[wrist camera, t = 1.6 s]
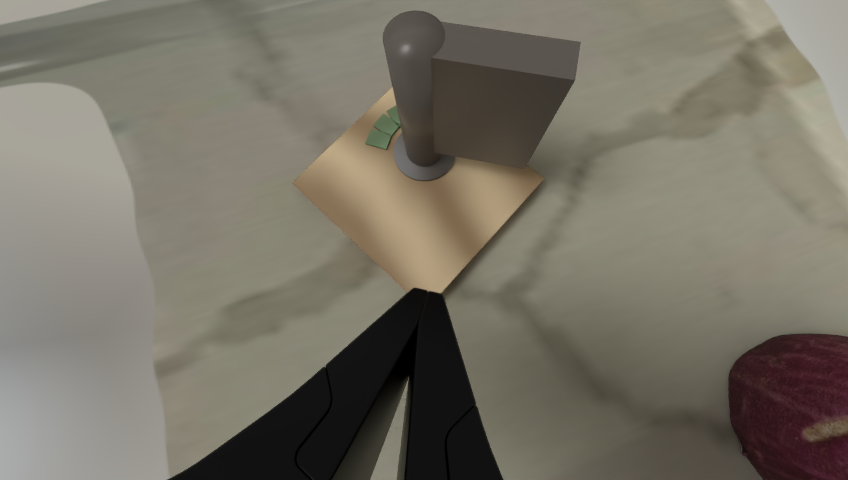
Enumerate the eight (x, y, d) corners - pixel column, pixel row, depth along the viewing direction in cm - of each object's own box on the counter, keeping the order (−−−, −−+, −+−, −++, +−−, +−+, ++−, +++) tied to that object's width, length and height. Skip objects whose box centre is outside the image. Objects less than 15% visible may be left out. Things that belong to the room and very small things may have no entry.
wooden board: (426, 310, 22) (425, 309, 21) (298, 189, 24) (289, 181, 23) (541, 182, 24) (548, 173, 22) (411, 81, 26) (409, 67, 25)
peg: (517, 184, 22) (573, 88, 13) (402, 162, 23) (375, 57, 14) (530, 111, 23) (590, -25, 14) (420, 93, 24) (407, -48, 15)
